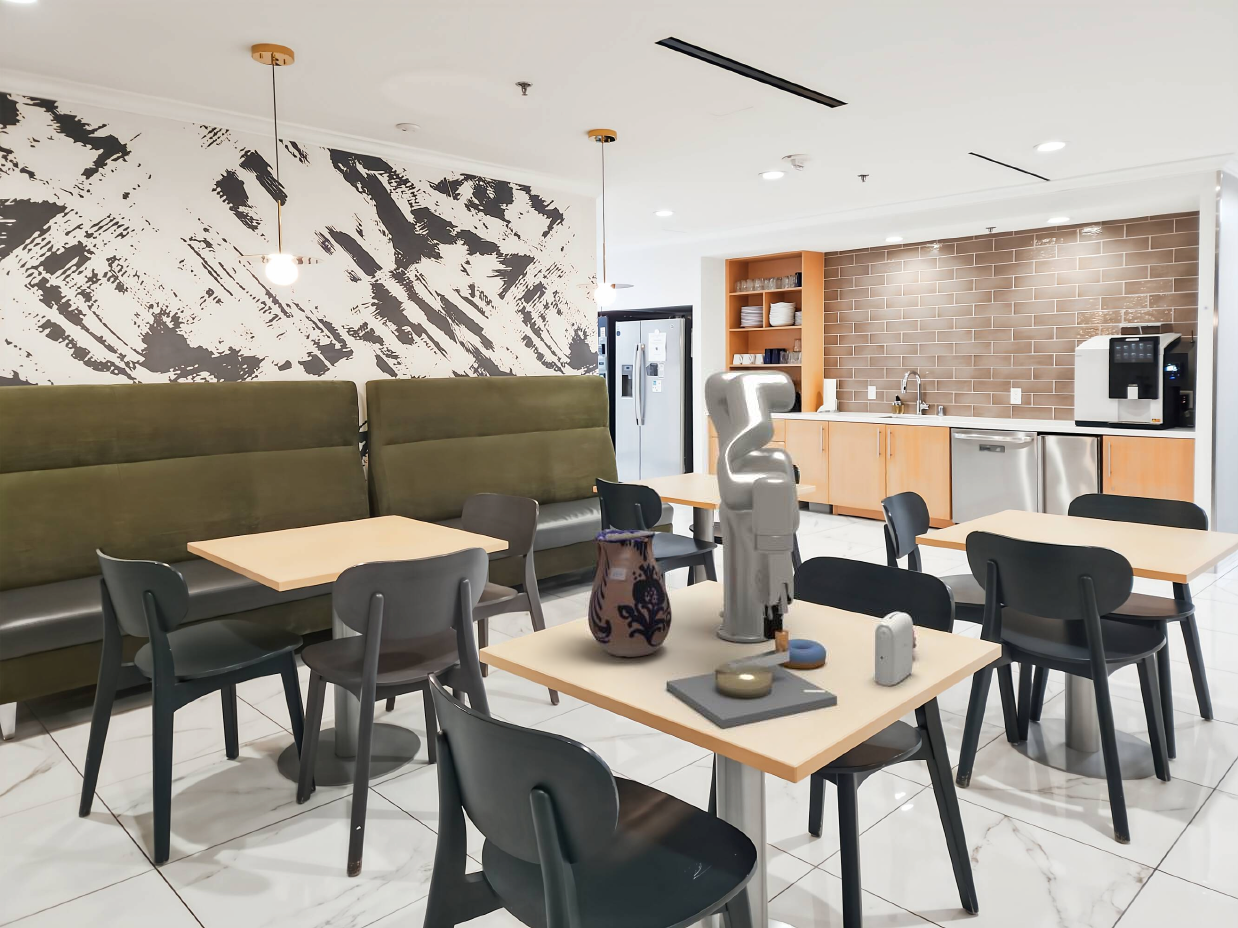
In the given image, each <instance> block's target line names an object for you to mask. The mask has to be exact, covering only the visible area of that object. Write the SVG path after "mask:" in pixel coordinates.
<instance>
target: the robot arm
mask: <svg viewBox="0 0 1238 928" xmlns="http://www.w3.org/2000/svg"><path fill="white" fill-rule="evenodd" d="M705 381H706V382H705V383H704V399H705V405H706V409H707V413H708V415H709V418H710V421H711V423H712V425H713V428H714V430H715V432H716V435H717V442H718V452H719V454H718V457H717V461H716V477H717V484H718V486H717V487H718V491H719V497H720V503H719V504H718V505H719V506H718V521H719V527H720V532H721V541H722V560H723V561H722V565H723V567H722V568H723V571H722V572H723V611H722V610H721V611H720V612H719V613H718V616H719V617H720V618H721V619H722V624H721V625H719V626H718V627H717V628H716V635H717V636H718V637H719V638H720V639H723V640H725V641H728V642H729V641H730V642H735V643H748V644H749V643H750V644H751V643H759V642H760V643H761V642H765V641H771V640H773V641H775V631H776V630H784V628H783V626H784V625H783V623H784V621H783V619H784V617H785V616H784V615H785V614H789V608H788V606H789V605H792V604H793V602H794V596H795V595H794V590H795V589H794V588H795V587H794V569H793V567H794V566H793V559H792V557H793V556H792V552H794V534H796V532H798V529H799V527H800V523H801V522H800V520H801V518H800V517H801V515H800V513H801V512H800V505H799V498H798V492H797V483H796V476H795V469H794V464H793V460H792V457H791V456H790V454H789V452H788V451H787V450H785V449H783V448H780V447H765V446H766V445H768V444H770V442H771V441H772V440H773V438H774V436H775V427H774V423H773V419H772V414H771V413H782V412H783V413H785V412H789V411H790V410H791V409H793V407H794V404H795V402H796V390H795V385H794V382H793V380H792V378H791V376H789V374H787V373H785V372H783V371H780V370H776V369H775V370H773V369H771V370H769V369H764V370H761V369H760V370H759V369H758V370H757V369H756V370H726V371H724V370H723V371H718V372H715V373H713V374H711V375H710V376H708V378H706V380H705Z"/></svg>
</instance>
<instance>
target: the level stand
mask: <svg viewBox="0 0 1238 928" xmlns="http://www.w3.org/2000/svg"><path fill="white" fill-rule="evenodd" d="M768 668H770V669H771V671H772V691H771V692H770V693H768V694H766V695H764V696H760V697H753V698H739V697H732V696H728V695H725V694H722V693H720V692H719V691H717V689H716V685H715V672H712V673H706V674H700V675H695V676H689V677H684V678H678V679H673V680H666V690H667V689H668V690H669V691H668V690H667V691H668V692H670V693H671V692H672V693H671V694H672V695H674V694H675V695H676V696H675V695H674V696H675V697H677V696H678V697H679V698H678V697H677V698H678V699H679V700H681V699H682V700H681V701H683V702H684V701H685V702H686V703H685V702H684V703H685V704H687V705H688V704H689V705H688V706H689V707H691V708H693V709H694V710H695V709H696V710H695V711H697V712H699V713H700V714H701V713H702V714H701V715H703V716H704V717H705V716H706V717H705V718H707V719H708V720H710V721H712V722H713V723H714V724H715V725H717V726H719V727H720V728H721V729H727V728H728V729H729V728H733V727H736V726H737V727H738V726H741V725H747V724H750V723H755V722H760V721H766V720H769V719H775V718H780V717H784V716H789V715H790V716H791V715H793V714H798V713H802V712H803V713H804V712H807V711H813V710H817V709H821V708H822V709H823V708H827V707H831V706H837V705H838V695H836V694H833V693H832V692H830V691H828V690H825V689H824V688H822V687H820V686H818V685H816V684H814V683H812V682H810V681H808V680H807V679H804V678H802V677H800V676H798V675H796V674H794V673H792V672H791V671H789V670H787V669H785V668H783V667H781V666H779V665H778V664H776V665H773V666H769V667H768Z"/></svg>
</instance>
